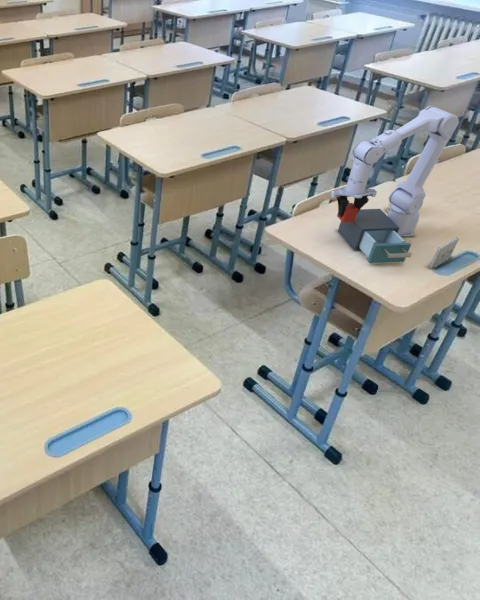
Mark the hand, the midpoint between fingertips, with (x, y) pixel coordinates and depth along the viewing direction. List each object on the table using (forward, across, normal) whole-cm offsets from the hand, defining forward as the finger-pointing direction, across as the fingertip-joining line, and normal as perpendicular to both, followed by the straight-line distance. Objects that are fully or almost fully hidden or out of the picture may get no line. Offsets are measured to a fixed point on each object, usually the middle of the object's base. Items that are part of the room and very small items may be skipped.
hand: (346, 215), depth 189 cm
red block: (+1, 0, 0) cm, 1 cm away
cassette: (+11, +28, -15) cm, 34 cm away
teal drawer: (+10, +10, -12) cm, 18 cm away
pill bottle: (+11, +31, +20) cm, 38 cm away
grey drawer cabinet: (+10, +10, 0) cm, 14 cm away
